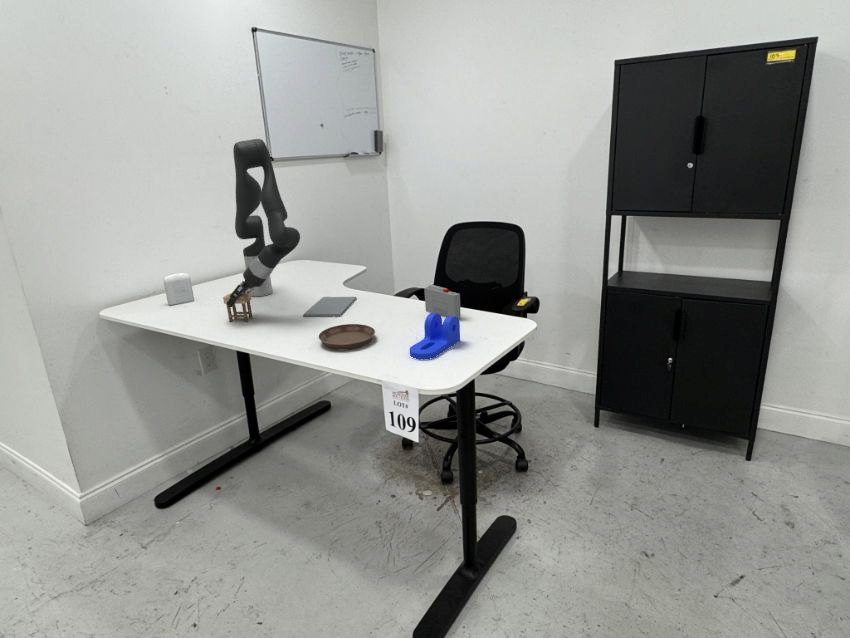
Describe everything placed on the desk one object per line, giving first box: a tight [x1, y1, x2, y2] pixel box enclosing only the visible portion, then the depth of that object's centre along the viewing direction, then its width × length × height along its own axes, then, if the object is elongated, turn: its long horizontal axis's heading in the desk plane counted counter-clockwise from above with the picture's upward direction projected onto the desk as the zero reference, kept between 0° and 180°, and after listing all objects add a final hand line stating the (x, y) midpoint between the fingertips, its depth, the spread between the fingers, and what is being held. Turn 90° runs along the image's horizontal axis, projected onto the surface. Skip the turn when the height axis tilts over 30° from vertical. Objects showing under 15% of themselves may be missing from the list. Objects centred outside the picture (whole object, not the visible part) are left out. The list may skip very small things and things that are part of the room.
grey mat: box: [302, 296, 357, 318], centre depth 201 cm, size 22×14×1 cm, turn 171°
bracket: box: [409, 313, 461, 360], centre depth 155 cm, size 18×8×9 cm, turn 147°
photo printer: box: [163, 272, 195, 306], centre depth 217 cm, size 10×4×12 cm, turn 123°
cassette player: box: [423, 284, 462, 320], centre depth 184 cm, size 16×3×10 cm, turn 40°
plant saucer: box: [318, 323, 376, 350], centre depth 165 cm, size 18×18×3 cm
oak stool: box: [222, 292, 253, 323], centre depth 191 cm, size 5×8×9 cm, turn 81°
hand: (234, 301), depth 191 cm, fingers open, 8 cm apart
